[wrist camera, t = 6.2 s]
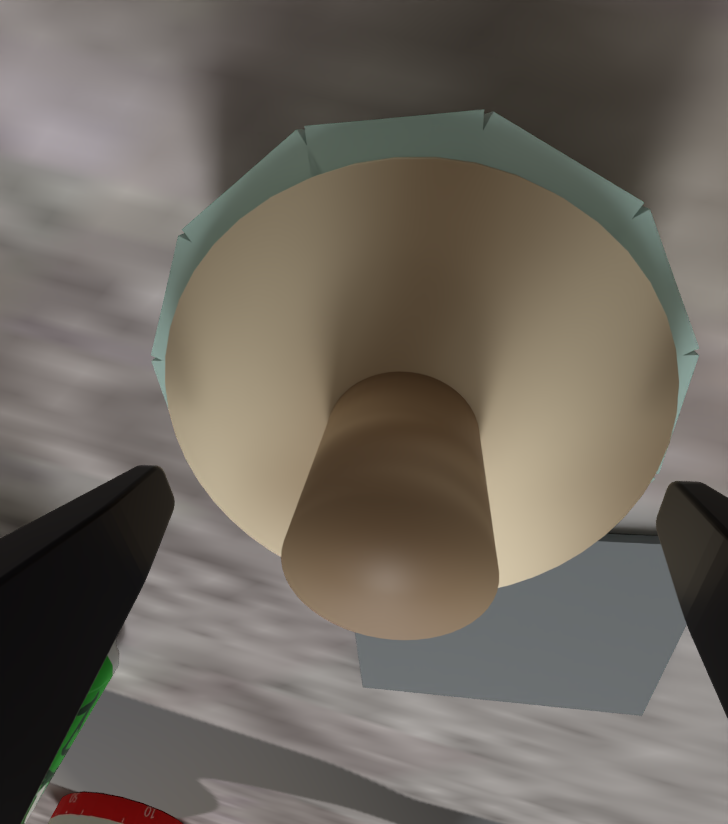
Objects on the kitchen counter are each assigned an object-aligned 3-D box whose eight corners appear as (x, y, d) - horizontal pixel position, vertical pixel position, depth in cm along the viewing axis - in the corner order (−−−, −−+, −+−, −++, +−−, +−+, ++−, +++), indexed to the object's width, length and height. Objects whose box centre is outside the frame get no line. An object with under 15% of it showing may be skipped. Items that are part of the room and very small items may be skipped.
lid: (741, 128, 7) (1087, 129, 3) (603, 583, 12) (673, 774, 9) (114, 179, 8) (-128, 218, 5) (238, 561, 14) (168, 714, 10)
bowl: (660, 98, 10) (792, 81, 6) (575, 485, 16) (617, 595, 12) (190, 140, 12) (76, 147, 8) (269, 476, 18) (224, 569, 14)
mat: (718, 538, 17) (724, 547, 16) (638, 707, 23) (641, 715, 22) (342, 521, 19) (340, 528, 18) (363, 679, 25) (362, 687, 25)
